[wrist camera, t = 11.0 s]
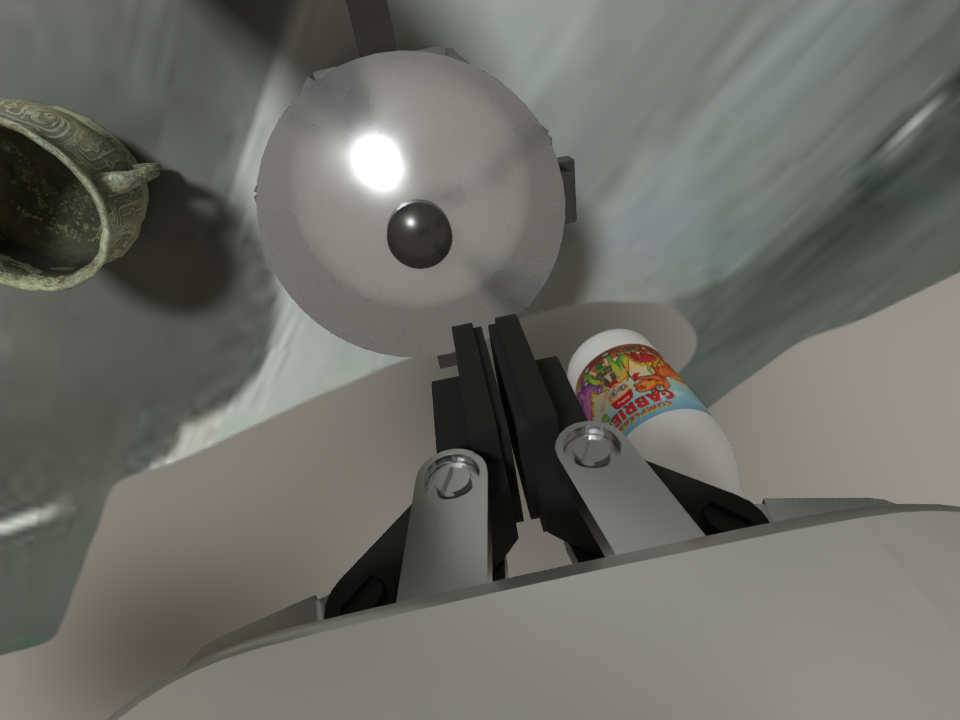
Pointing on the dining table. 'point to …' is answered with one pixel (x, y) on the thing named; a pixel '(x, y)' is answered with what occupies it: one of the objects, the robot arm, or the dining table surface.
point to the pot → (378, 37)
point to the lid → (411, 202)
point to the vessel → (64, 196)
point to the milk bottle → (651, 407)
